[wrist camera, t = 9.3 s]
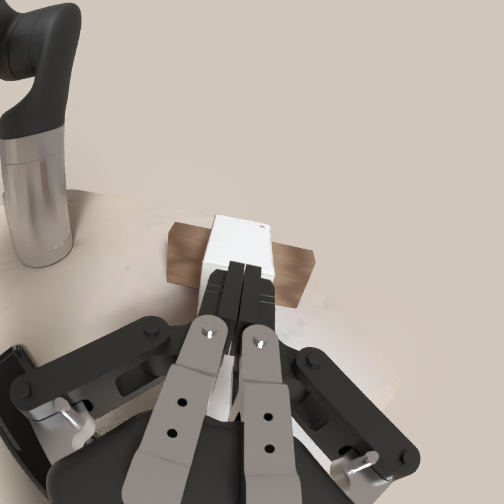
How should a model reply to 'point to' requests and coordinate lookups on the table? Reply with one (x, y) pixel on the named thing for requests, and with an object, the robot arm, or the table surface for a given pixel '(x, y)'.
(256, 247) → the small box
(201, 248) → the walnut board
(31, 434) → the phone
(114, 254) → the table surface
